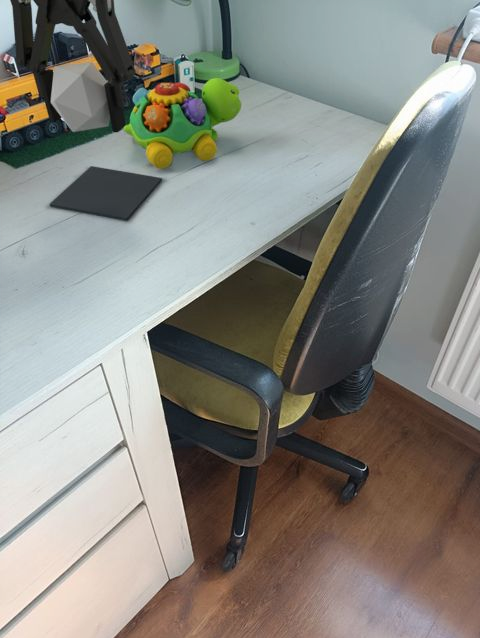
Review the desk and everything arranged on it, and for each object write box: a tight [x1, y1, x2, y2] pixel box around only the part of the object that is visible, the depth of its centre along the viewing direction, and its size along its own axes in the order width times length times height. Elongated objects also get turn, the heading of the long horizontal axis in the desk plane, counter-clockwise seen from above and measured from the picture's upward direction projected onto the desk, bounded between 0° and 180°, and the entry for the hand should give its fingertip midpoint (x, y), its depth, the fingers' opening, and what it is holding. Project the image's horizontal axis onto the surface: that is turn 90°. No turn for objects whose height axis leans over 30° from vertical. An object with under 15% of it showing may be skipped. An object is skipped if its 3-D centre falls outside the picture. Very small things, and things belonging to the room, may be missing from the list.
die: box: [50, 61, 111, 133], centre depth 74 cm, size 8×9×10 cm
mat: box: [49, 165, 163, 222], centre depth 88 cm, size 14×14×1 cm
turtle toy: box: [123, 77, 242, 170], centre depth 97 cm, size 17×23×12 cm
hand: (87, 123), depth 77 cm, fingers closed on die, 10 cm apart
